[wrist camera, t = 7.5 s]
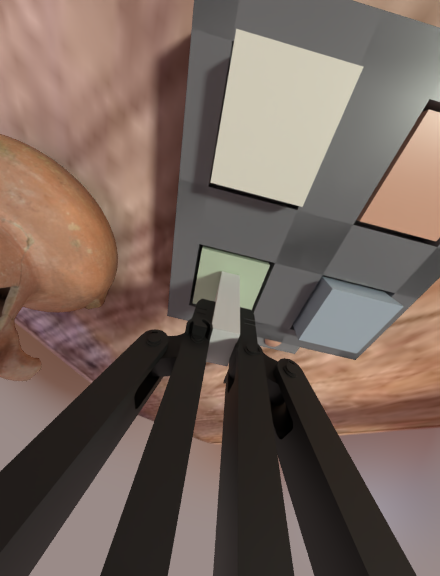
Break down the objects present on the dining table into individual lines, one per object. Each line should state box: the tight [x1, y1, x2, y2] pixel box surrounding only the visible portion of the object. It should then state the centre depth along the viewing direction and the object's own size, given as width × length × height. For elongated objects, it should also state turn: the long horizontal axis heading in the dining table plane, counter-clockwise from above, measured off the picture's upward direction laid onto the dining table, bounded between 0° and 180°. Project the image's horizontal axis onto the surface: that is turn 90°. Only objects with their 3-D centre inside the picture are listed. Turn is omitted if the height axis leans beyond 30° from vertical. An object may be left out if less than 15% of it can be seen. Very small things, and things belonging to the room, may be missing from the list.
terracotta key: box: [356, 110, 440, 241], centre depth 11 cm, size 6×6×2 cm
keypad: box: [167, 0, 440, 360], centre depth 14 cm, size 20×20×4 cm
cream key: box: [210, 29, 363, 207], centre depth 10 cm, size 6×6×2 cm
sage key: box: [193, 245, 270, 310], centre depth 16 cm, size 6×6×2 cm
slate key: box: [293, 276, 404, 353], centre depth 15 cm, size 6×6×2 cm
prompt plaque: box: [257, 337, 299, 354], centre depth 22 cm, size 12×3×1 cm, turn 77°
